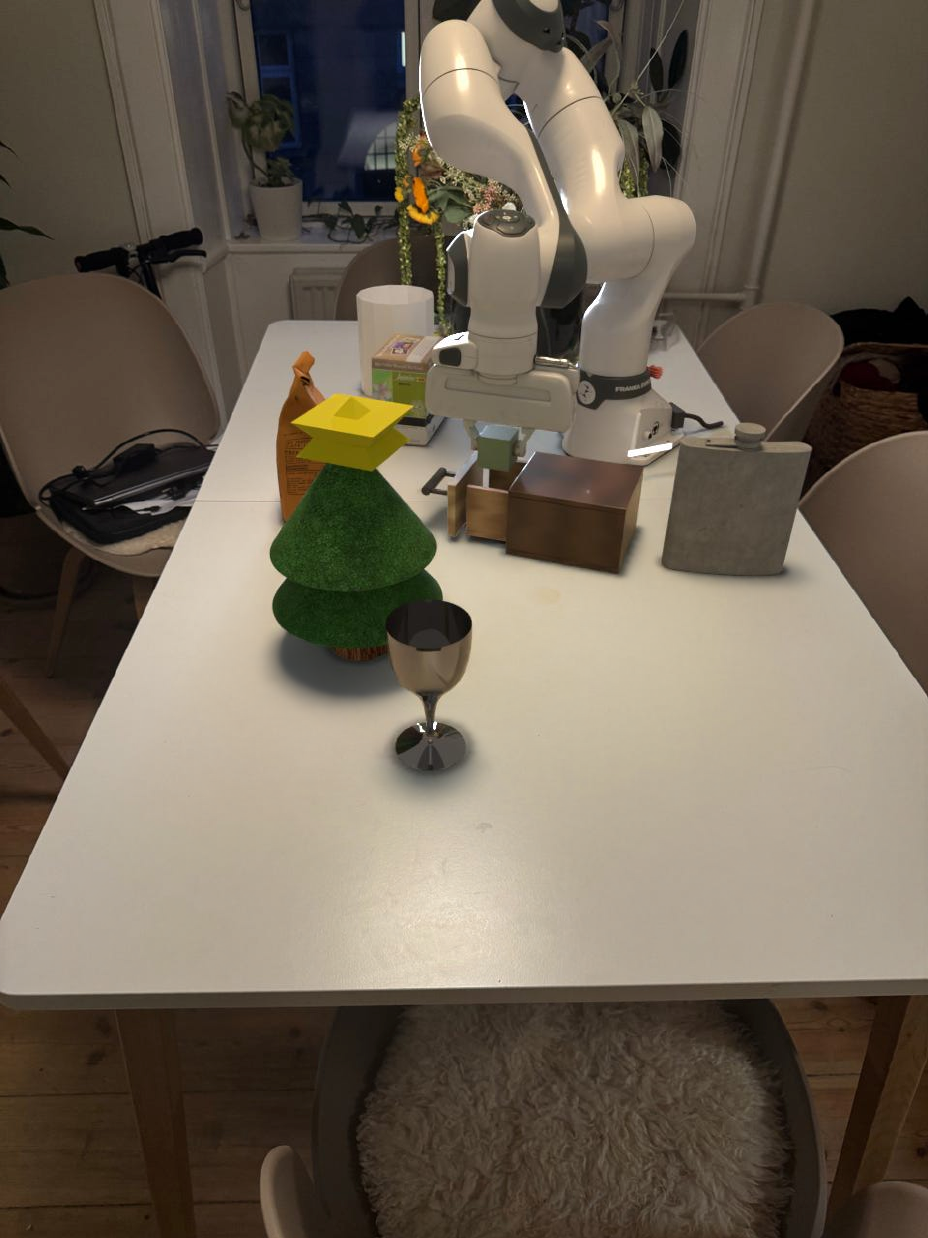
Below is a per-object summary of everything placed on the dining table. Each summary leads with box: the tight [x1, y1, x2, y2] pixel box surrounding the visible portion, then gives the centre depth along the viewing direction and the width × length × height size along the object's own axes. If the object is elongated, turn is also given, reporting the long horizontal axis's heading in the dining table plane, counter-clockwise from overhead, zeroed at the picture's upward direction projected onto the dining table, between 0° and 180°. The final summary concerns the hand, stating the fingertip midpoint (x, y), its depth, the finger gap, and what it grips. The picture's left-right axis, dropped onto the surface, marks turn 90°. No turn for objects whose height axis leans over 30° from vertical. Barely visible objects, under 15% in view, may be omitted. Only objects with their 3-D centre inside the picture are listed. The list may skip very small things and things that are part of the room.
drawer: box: [420, 450, 529, 542], centre depth 124 cm, size 19×12×8 cm, turn 71°
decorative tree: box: [268, 392, 444, 662], centre depth 94 cm, size 19×19×30 cm
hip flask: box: [660, 422, 813, 576], centre depth 112 cm, size 16×4×20 cm, turn 85°
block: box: [477, 424, 520, 472], centre depth 120 cm, size 4×4×4 cm
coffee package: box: [275, 350, 327, 522], centre depth 125 cm, size 10×12×22 cm
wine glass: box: [385, 599, 473, 772], centre depth 84 cm, size 8×8×15 cm
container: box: [355, 284, 435, 398], centre depth 169 cm, size 14×14×18 cm
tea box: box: [371, 334, 446, 446], centre depth 153 cm, size 15×10×15 cm, turn 168°
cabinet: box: [505, 450, 645, 575], centre depth 121 cm, size 16×14×10 cm
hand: (498, 452), depth 120 cm, fingers closed on block, 4 cm apart
